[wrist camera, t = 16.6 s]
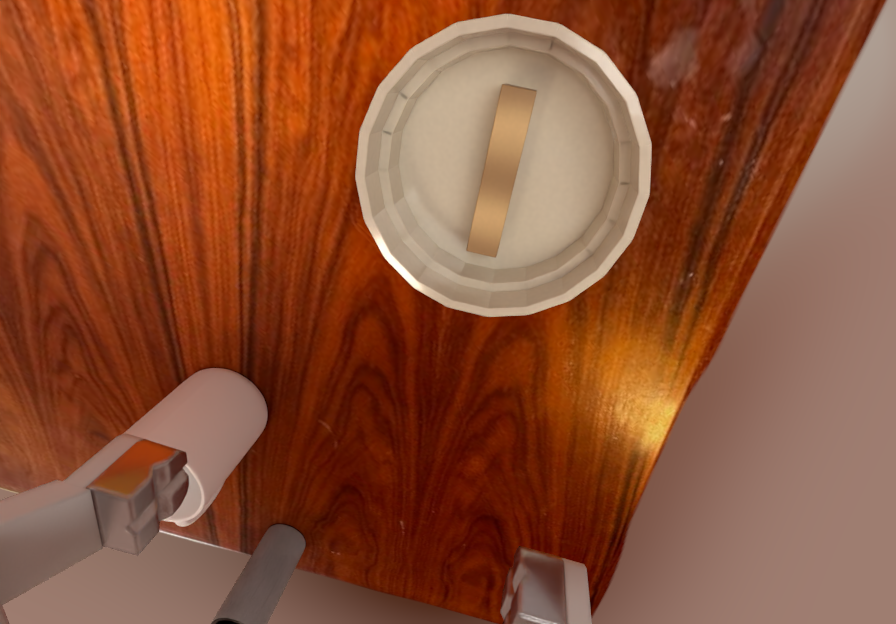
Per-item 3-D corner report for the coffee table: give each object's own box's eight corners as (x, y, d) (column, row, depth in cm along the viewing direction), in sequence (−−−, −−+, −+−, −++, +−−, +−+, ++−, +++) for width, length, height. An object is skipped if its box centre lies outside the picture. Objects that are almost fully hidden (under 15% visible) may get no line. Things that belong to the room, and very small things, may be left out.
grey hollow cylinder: (305, 557, 54) (257, 655, 45) (266, 546, 54) (211, 641, 45) (307, 530, 52) (257, 627, 42) (267, 518, 52) (208, 613, 43)
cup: (267, 373, 43) (195, 451, 34) (276, 472, 49) (216, 562, 40) (181, 357, 44) (90, 429, 35) (199, 457, 50) (124, 542, 41)
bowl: (672, 56, 28) (703, 51, 23) (586, 303, 35) (594, 343, 30) (402, 3, 29) (371, -14, 24) (373, 253, 37) (344, 283, 31)
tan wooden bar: (505, 83, 30) (501, 83, 27) (537, 90, 29) (537, 91, 27) (471, 237, 34) (465, 251, 31) (499, 244, 34) (496, 258, 31)
